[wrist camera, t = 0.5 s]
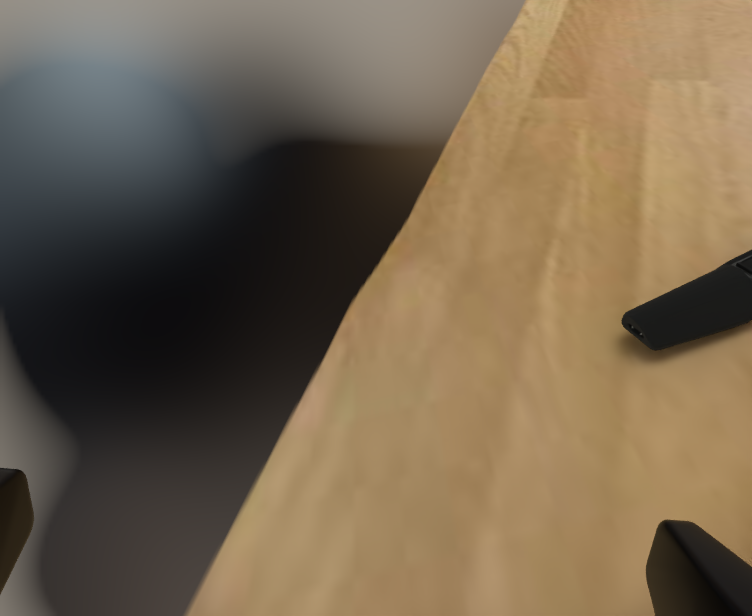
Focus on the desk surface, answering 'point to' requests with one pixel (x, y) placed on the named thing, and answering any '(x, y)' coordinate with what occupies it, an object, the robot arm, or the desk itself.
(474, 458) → the desk surface
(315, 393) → the desk surface
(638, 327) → the electric trimmer
